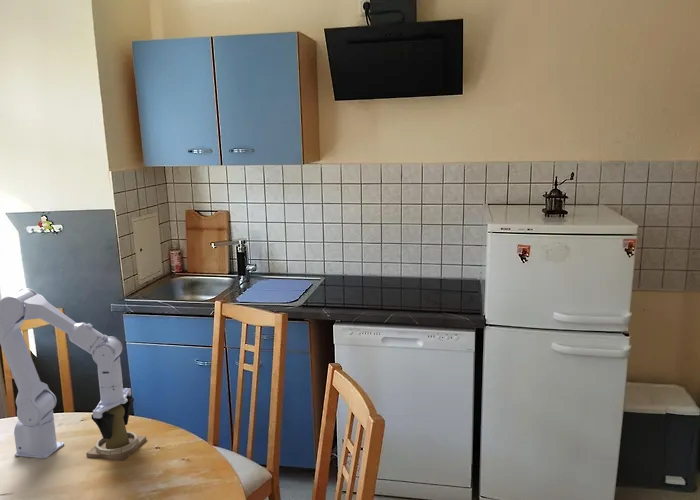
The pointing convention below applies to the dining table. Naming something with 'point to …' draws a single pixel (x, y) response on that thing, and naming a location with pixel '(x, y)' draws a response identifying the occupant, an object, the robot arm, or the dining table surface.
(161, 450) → the dining table surface
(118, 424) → the cork
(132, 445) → the cup holder
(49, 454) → the robot arm
